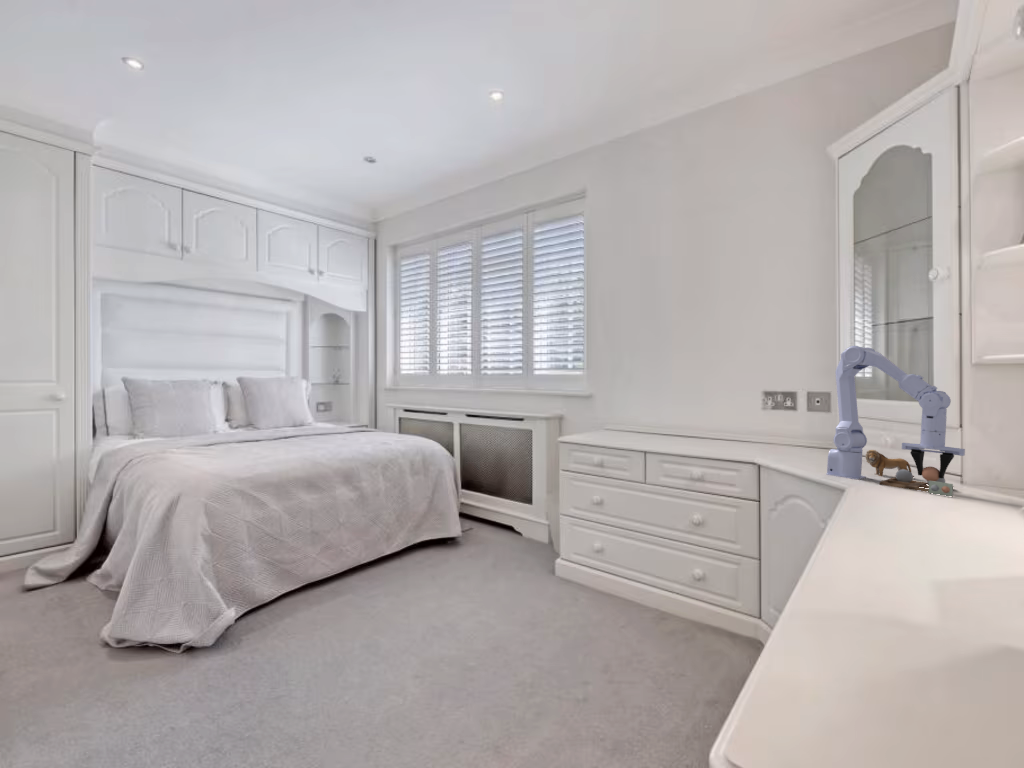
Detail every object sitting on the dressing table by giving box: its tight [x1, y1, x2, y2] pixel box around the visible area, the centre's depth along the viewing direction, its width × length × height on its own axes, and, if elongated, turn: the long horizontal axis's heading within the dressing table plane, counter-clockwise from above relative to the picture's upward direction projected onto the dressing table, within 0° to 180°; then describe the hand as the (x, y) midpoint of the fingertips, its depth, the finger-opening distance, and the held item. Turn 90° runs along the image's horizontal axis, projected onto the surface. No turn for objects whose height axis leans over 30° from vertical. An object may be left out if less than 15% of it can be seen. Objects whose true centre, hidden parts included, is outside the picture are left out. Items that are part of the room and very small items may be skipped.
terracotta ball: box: [921, 466, 940, 482], centre depth 153 cm, size 4×4×4 cm
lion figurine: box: [865, 449, 915, 477], centre depth 177 cm, size 15×5×9 cm, turn 72°
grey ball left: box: [895, 469, 914, 483], centre depth 164 cm, size 4×4×4 cm
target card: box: [928, 481, 954, 497], centre depth 146 cm, size 5×1×4 cm, turn 39°
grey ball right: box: [926, 477, 946, 484], centre depth 157 cm, size 4×4×4 cm
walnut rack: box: [879, 477, 929, 493], centre depth 158 cm, size 15×15×1 cm
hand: (930, 476), depth 153 cm, fingers closed on terracotta ball, 4 cm apart
